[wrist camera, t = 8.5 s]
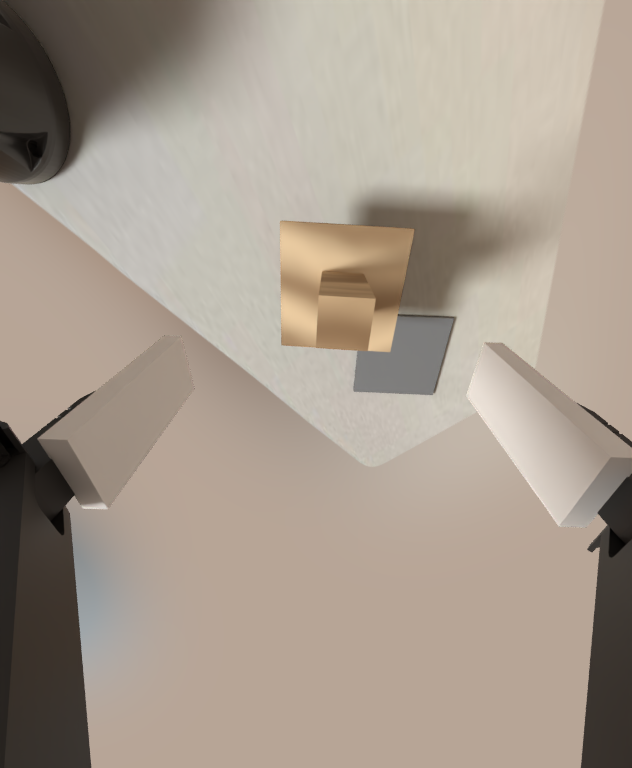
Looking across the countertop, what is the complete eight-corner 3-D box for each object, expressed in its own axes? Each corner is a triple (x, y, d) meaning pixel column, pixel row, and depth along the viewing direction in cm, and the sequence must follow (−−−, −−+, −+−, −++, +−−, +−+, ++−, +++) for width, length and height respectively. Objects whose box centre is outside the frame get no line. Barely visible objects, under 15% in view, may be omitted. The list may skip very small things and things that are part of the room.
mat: (361, 313, 39) (361, 315, 39) (452, 317, 39) (453, 318, 38) (353, 389, 45) (353, 391, 45) (431, 393, 45) (432, 394, 45)
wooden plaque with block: (281, 220, 27) (258, 227, 18) (411, 228, 27) (449, 238, 18) (283, 341, 33) (265, 388, 25) (388, 347, 33) (408, 397, 25)
